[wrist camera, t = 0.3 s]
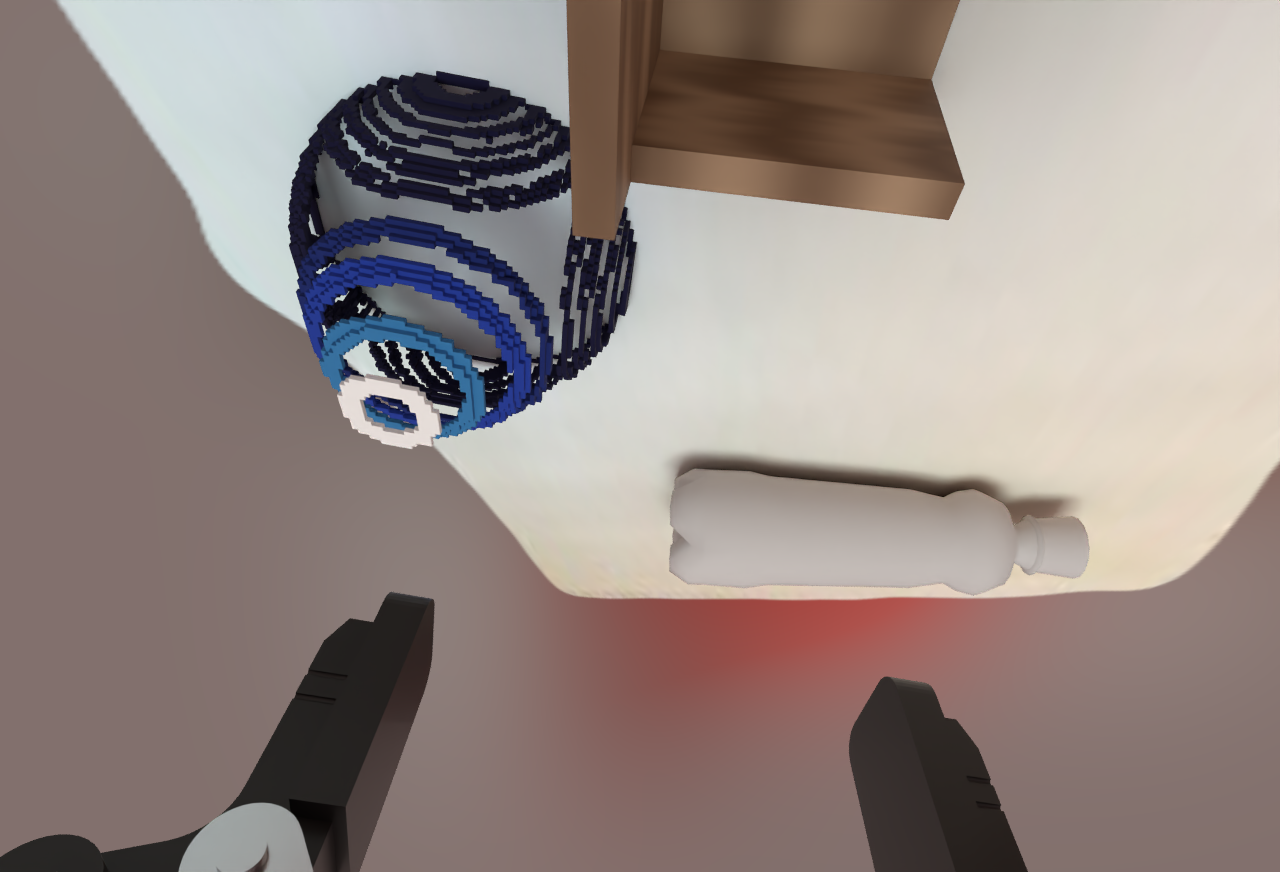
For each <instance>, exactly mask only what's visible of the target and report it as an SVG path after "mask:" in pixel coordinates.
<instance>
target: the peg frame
mask: <svg viewBox="0 0 1280 872" xmlns="http://www.w3.org/2000/svg"><path fill="white" fill-rule="evenodd" d="M566 1H567V40H568V78H569V116H570V154H571V192H572V230H573V236H581V237H590V238H598V239H606V240H615V237H616V233H617V229H618V226H619V222H620V219H621V215H622V211H623V208H624V204H625V200H626V197H627V193H628V190H629V186H630V182H635V183H644V184H652V185H660V186H669V187H677V188H685V189H694V190H702V191H710V192H719V193H727V194H736V195H744V196H752V197H761V198H769V199H777V200H786V201H794V202H802V203H811V204H819V205H828V206H836V207H844V208H853V209H861V210H869V211H878V212H886V213H894V214H903V215H911V216H920V217H928V218H936V219H945V220H949V218H950V216H951V214H952V212H953V209H954V207H955V205H956V203H957V200H958V198H959V196H960V194H961V191H962V189H963V187H964V185H965V183H964V180H963V177H962V173H961V170H960V167H959V164H958V161H957V158H956V155H955V152H954V149H953V146H952V142H951V139H950V136H949V133H948V130H947V127H946V124H945V121H944V118H943V114H942V111H941V108H940V105H939V102H938V99H937V96H936V93H935V90H934V87H933V83H932V80H931V79H932V76H933V74H934V71H935V68H936V65H937V62H938V60H939V57H940V54H941V51H942V49H943V46H944V43H945V40H946V37H947V35H948V32H949V29H950V26H951V24H952V21H953V18H954V15H955V12H956V10H957V7H958V4H959V1H960V0H566Z"/></svg>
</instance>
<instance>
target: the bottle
mask: <svg viewBox="0 0 1280 872" xmlns="http://www.w3.org/2000/svg"><path fill="white" fill-rule="evenodd" d="M670 525H671V526H672V527H673V528H674V529H673V544H672V545H671V548H670V558H669V563H670V569H669V571H670V572H671V573H673V574H674V575H676V576H677V577H678V578H680V579H681V580H683V581H684V582H685V583H687V584H697V585H713V586H726V587H738V588H749V587H756V586H763V585H792V586H844V587H896V588H911V587H918V586H926V585H933V584H941V583H943V584H945V585H947V586H948V587H950V588H952V589H953V590H955V591H958V592H962V593H966V594H970V595H977V594H981V593H983V592H986V591H988V590H991V589H993V588H996V587H998V586H1001V585H1003V584H1005V582H1006V581H1007V580H1008V578H1009V577H1010V575H1011V571H1012V568H1013V564H1014V563H1015V564H1017V565H1018V566H1020V567H1021V568H1022V570H1023V572H1024V573H1026V574H1028V575H1032V574H1035V573H1043V574H1049V575H1055V576H1061V577H1068V578H1077V577H1080V576H1081V575H1082V574H1083V572H1084V571H1085V569H1086V566H1087V563H1088V559H1089V541H1088V535H1087V532H1086V530H1085V527H1084V525H1083V524H1082V523H1081V521H1080V520H1079V519H1078V518H1075V517H1052V518H1034V517H1033V516H1031V515H1027V516H1024V517H1023V518H1022V520H1021V521H1020V523H1017V524H1015V525H1013V522H1012V518H1011V515H1010V512H1009V511H1008V509H1007V508H1006V506H1005V505H1004V503H1002V502H1000V501H998V500H996V499H994V498H992V497H990V496H988V495H986V494H984V493H982V492H979V491H977V490H975V489H970V490H963V491H956V492H953V493H951V494H949V495H947V496H945V497H939V496H935V495H931V494H927V493H923V492H919V491H915V490H911V489H902V488H891V487H880V486H870V485H859V484H848V483H837V482H827V481H816V480H805V479H794V478H784V477H773V476H767V475H763V474H760V473H756V472H752V471H735V470H707V469H692V470H690V471H688V472H687V473H685V474H683V475H681V476H680V477H678V478H676V479H675V486H674V491H673V492H672V498H671V504H670Z"/></svg>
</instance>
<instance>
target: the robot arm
mask: <svg viewBox="0 0 1280 872" xmlns="http://www.w3.org/2000/svg"><path fill="white" fill-rule="evenodd" d="M433 626H434V600H433V599H430V598H424V597H418V596H412V595H406V594H400V593H394V592H390V593H389V594H388V595H387V596H386V598H385V600H384V602H383V604H382V606H381V608H380V610H379V612H378V614H377V616H376V618H375V620H374V622H369V621H363V620H356V619H349V620H348V621H346V622H345V623H344V624H343V625H342V626H341V627H340V628H338V629H337V630H336V631H335V632H334V633H333V634H331V636H329V637H328V638H327V639H326V640H324V642H323V644H322V646H321V647H320V649H319V651H318V653H317V655H316V657H315V658H314V660H313V662H312V664H311V666H310V668H309V671H308V674H307V675H305V677H304V679H303V680H302V682H301V684H300V686H299V688H298V690H297V692H296V695H295V698H294V699H292V701H291V702H290V705H289V706H288V708H287V710H286V712H285V714H284V715H283V717H282V719H281V721H280V723H279V724H278V726H277V728H276V730H275V732H274V734H273V736H272V737H271V739H270V741H269V743H268V745H267V747H266V748H265V750H264V752H263V754H262V756H261V758H260V759H259V761H258V763H257V765H256V767H255V769H254V770H253V772H252V774H251V776H250V778H249V780H248V781H247V783H246V785H245V787H244V788H243V790H242V792H241V793H240V795H239V796H238V797H237V798H236V800H235V801H234V802H233V803H232V804H231V805H230V807H228V808H227V809H226V810H225V811H224V812H223V813H222V814H221V815H219V816H218V817H217V818H216V819H214V820H213V821H211V822H210V823H208V824H207V825H205V826H204V827H202V828H200V829H198V830H196V831H194V832H192V833H190V834H187V835H185V836H182V837H179V838H176V839H172V840H169V841H163V842H158V843H153V844H147V845H142V846H136V847H131V848H125V849H120V850H115V851H109V852H104V853H100V851H99V850H98V848H97V847H96V846H95V844H93V843H91V842H90V841H89V840H87V839H85V838H82V837H80V836H75V835H53V836H46V837H43V838H39V839H36V840H33V841H30V842H28V843H25V844H23V845H21V846H19V847H17V848H15V849H13V850H11V851H9V852H8V853H6V854H5V855H3V856H2V857H0V872H359V871H360V868H361V866H362V863H363V860H364V857H365V854H366V852H367V849H368V846H369V843H370V841H371V838H372V835H373V832H374V830H375V827H376V824H377V821H378V818H379V816H380V813H381V810H382V807H383V805H384V802H385V799H386V796H387V794H388V791H389V788H390V785H391V782H392V780H393V777H394V774H395V771H396V769H397V766H398V763H399V760H400V758H401V755H402V752H403V749H404V746H405V744H406V741H407V738H408V735H409V732H410V730H411V727H412V724H413V721H414V719H415V716H416V713H417V710H418V707H419V705H420V702H421V699H422V697H423V694H424V691H425V687H426V684H427V680H428V676H429V672H430V667H431V661H432V649H433V647H432V646H433ZM849 756H850V763H851V767H852V772H853V776H854V781H855V785H856V789H857V794H858V798H859V802H860V807H861V811H862V816H863V820H864V824H865V829H866V833H867V838H868V842H869V846H870V851H871V855H872V859H873V863H874V868H875V872H1028V871H1027V868H1026V866H1025V863H1024V861H1023V858H1022V856H1021V854H1020V851H1019V848H1018V846H1017V844H1016V841H1015V839H1014V836H1013V834H1012V831H1011V829H1010V826H1009V824H1008V821H1007V819H1006V816H1005V814H1004V812H1003V811H1001V809H1000V806H1001V804H1000V801H999V799H998V796H997V794H996V791H995V789H994V787H993V786H992V785H991V784H990V780H991V779H990V776H989V774H988V771H987V769H986V767H985V764H984V761H983V759H982V756H981V754H980V752H979V749H978V747H977V746H976V745H975V744H974V742H973V741H972V740H971V738H970V737H969V736H968V734H967V733H966V732H965V730H964V729H963V728H962V727H961V725H960V724H959V723H958V721H957V720H955V719H949V718H944V715H943V713H942V710H941V707H940V704H939V702H938V699H937V696H936V694H935V692H934V690H933V688H932V687H931V686H930V685H929V684H927V683H922V682H917V681H910V680H905V679H898V678H892V677H884V678H882V679H881V680H880V682H879V683H878V685H877V686H876V688H875V690H874V691H873V693H872V695H871V696H870V698H869V700H868V702H867V703H866V705H865V707H864V709H863V710H862V712H861V714H860V715H859V717H858V719H857V720H856V722H855V724H854V726H853V728H852V731H851V735H850V743H849Z"/></svg>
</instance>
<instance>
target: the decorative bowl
mask: <svg viewBox="0 0 1280 872" xmlns="http://www.w3.org/2000/svg"><path fill="white" fill-rule="evenodd" d="M439 83H442V84H447V85H452V86H457V87H462V88H468V89H473V90H478V91H480V92H479V93H476V92H473V94H466V95H465V96H464V95H458V94H453V93H448V92H446V89H442V86H439ZM393 85H397V86H398V87H397V94H400V95H401V97H402V103H407V104H411V107H413V108H414V110H415V111H418V114H420V115H425V116H431V117H436V118H441V119H446V120H452V121H457V122H462V123H468V121H472V122H477V123H480V121H487V120H488V119H491V120H496V121H499V119H500V118H501V116H504V117H507V116H508V114H509V112H511V113H515V112H516V110H517V108H518V106H521V107H524V106H525V110H528V111H527V113H526V114H525V116H524V118H523V117H518V119H517V120H516V121H510V123H507V122H504V123H503V125H502V124H497V125H496V126H493V125H490V126H489V128H488V127H483V126H477V128H473V127H468V126H465V127H464V129H463V128H458V127H453V126H447V125H442V124H437V123H432V122H426V121H421V120H417V119H416V117H415V116H413V113H410V112H404V108H401V106H400V105H397V102H396V101H394V98H393V95H392V92H389V89H392V90H393V89H394V88H393ZM376 94H377V95H378V101H379V105H380V107H383V110H386V113H387V114H389V115H390V117H393V118H398V120H399V122H402V125H404V126H409V127H415V128H420V129H425V130H427V131H428V133H430V134H436V135H441V136H446V137H450V136H451V135H457V136H462V137H467V138H472V139H478V140H479V139H480V137H483V138H486V143H487V144H492V143H493V137H499V135H503V136H505V135H506V134H512V133H513V132H517V133H519V131H520V136H526V134H529V135H532V134H533V132H534V124H535V122H536V128H541V127H542V125H543V118H544V121H545V124H549V125H548V126H547V128H546V130H545V132H542V131H539V133H538V135H537V136H535V135H532V136H531V138H530V140H526V139H524V140H523V142H522V141H517V142H516V143H512V142H511V143H510V144H509V145H507V144H504V145H503V146H496V148H492V147H487V146H484V148H483V149H482V148H476V147H472V148H471V149H466V148H461V147H455V146H454V141H451V140H446V139H441V138H436V137H430V136H425V135H420V136H419V137H418V138H419V140H418V139H413V138H408V137H407V135H406V134H403V133H398V132H392V128H389V125H387V124H386V123H385V121H382V118H381V117H376V116H377V114H378V110H377V108H374V103H373V98H374V97H375V95H376ZM359 103H361V104H362V105H361V106H362V111H363V117H366V119H367V120H369V121H370V124H373V127H375V128H376V130H377V131H379V132H380V134H381V135H386V136H388V137H389V139H391V140H392V143H396V144H401V145H407V146H412V147H417V148H420V147H421V146H422V144H421V143H423V144H429V145H434V146H439V147H445V148H450V149H452V151H453V154H454V155H459V156H465V157H470V158H475V157H476V156H481V157H486V158H487V157H488V156H489V155H491V156H495V154H496V153H497V154H502V155H507V154H508V153H512V154H513V153H514V151H515V150H516V148H517V149H522V150H527V149H528V148H532V149H533V148H534V146H535V144H536V142H537V141H539V142H542V141H543V139H544V137H547V138H550V136H551V134H552V132H553V131H558V133H557V135H556V138H555V140H554V147H553V144H550V143H547V145H541V146H540V148H539V150H538V152H537V157H532V158H531V154H528V153H525V155H524V156H523V155H518V157H511V159H507V158H502V157H499V159H498V160H496V159H492V161H486V160H480V161H479V162H475V161H469V160H464V159H462V160H461V162H458V161H453V160H448V159H442V158H437V157H432V156H427V155H421V154H416V153H411V152H407V149H406V148H401V147H396V146H389V148H388V150H386V148H387V147H388V146H387V142H386V141H381V142H380V143H379V141H378V137H375V134H374V133H372V132H371V130H370V129H368V126H365V123H364V122H362V120H361V114H360V109H359ZM343 116H344V117H343ZM342 117H343V119H344V123H347V128H346V129H345V130H346V134H348V135H351V136H353V137H354V139H355V140H357V141H358V144H361V147H363V148H366V150H365V156H368V157H371V156H372V155H373V156H376V158H377V160H382V161H387V163H386V169H387V170H391V171H395V174H396V175H401V176H406V177H411V178H416V179H422V180H427V181H432V182H438V183H443V184H448V185H453V186H459V187H463V185H464V184H465V185H471V186H475V185H476V178H477V179H482V180H488V178H489V176H490V175H494V176H500V177H501V176H502V174H506V175H511V176H514V174H515V173H516V174H521V171H522V172H527V171H528V170H533V171H534V169H535V168H538V169H540V168H541V166H542V164H548V163H549V161H550V159H551V160H556V157H557V155H560V156H563V154H564V152H565V151H568V152H570V127H565V126H561V121H560V120H554V119H551V114H550V113H546V108H545V107H540V106H535V105H529V104H526V99H525V98H520V97H515V96H510V90H506V89H501V88H495V87H490V86H489V81H487V80H482V79H476V78H471V77H466V76H461V75H455V74H450V73H445V72H440V71H436V76H433V75H427V74H422V73H417V72H416V74H415V75H414V76H413V77H410V76H405V75H401V76H400V77H399V80H398V79H393V78H388V77H383V76H382V77H381V78H380V79H379V80H378V81H377V86H376V85H371V84H368V85H367V86H366V87H365V88H360V87H359V88H358V89H357V90H356V91H355V92H354V93H353V94H352V95H351V96H350V97H349V98H348V99H347V100H345V99H341V100H340V101H339V102H338V103H337V104H336V106H335V107H334V108H333V109H332V110H331V111H330V112H329V113H328V114H327V115H326V116H325V117H324V118H323V119H322V120H321V121H320V122H319V123H318V124H317V127H318V130H317V131H316V132H315V133H314V134H313V135H312V137H311V138H310V139H309V146H308V147H307V148H306V149H305V150H304V151H303V152H302V153H301V155H300V156H299V157H300V160H301V161H300V162H299V163H298V164H299V168H298V170H297V171H296V172H295V174H296V177H295V178H294V179H293V180H292V181H293V182H292V185H293V186H292V187H291V188H292V189H291V192H292V193H291V194H290V195H291V198H292V199H291V200H290V203H289V206H290V207H289V211H290V215H289V217H290V218H289V221H290V224H289V225H288V228H289V231H290V236H291V237H290V240H291V243H290V244H289V247H290V250H291V254H292V257H293V260H294V263H295V266H296V270H297V273H298V276H299V279H298V280H297V282H298V285H299V288H300V289H298V290H297V291H296V293H297V297H298V300H299V303H300V306H301V309H302V312H303V318H304V322H305V325H306V328H307V331H308V334H309V337H310V340H311V343H312V346H313V349H314V352H315V353H316V354H317V357H318V358H319V359H320V360H319V362H320V366H321V369H322V372H323V374H324V376H326V377H329V378H330V382H331V385H332V388H334V389H338V392H339V393H338V395H337V396H338V399H339V402H340V406H341V409H342V412H343V415H344V417H346V418H350V422H351V425H352V428H353V429H358V432H359V433H362V434H368V435H369V436H370V438H372V439H377V440H381V443H382V444H388V445H393V446H398V447H404V448H409V449H413V447H414V446H415V447H417V445H418V444H421V445H427V446H432V445H433V443H434V442H433V438H436V439H439V438H440V437H447V438H448V437H449V435H452V436H458V434H462V433H463V431H464V432H467V430H468V429H469V430H476V428H484V429H485V427H490V428H492V426H493V424H494V425H495V423H496V422H499V423H502V422H503V421H506V418H508V416H512V414H516V413H519V412H521V411H523V410H525V409H526V406H528V404H530V405H535V402H541V401H542V392H546V390H547V389H548V390H552V387H553V385H557V382H558V381H559V380H562V379H563V377H564V379H565V380H572V378H577V374H578V369H580V370H584V369H585V367H587V365H591V362H592V359H590V357H596V356H597V354H598V352H602V350H603V347H604V346H605V347H606V346H607V345H608V342H609V338H610V334H611V333H614V331H615V327H616V323H617V318H618V314H619V315H622V316H625V314H626V311H627V307H628V300H629V294H630V287H631V280H632V273H633V266H634V259H635V252H636V245H637V242H633V234H634V230H633V229H630V222H631V221H628V220H626V217H627V209H628V208H626V207H624V208H623V211H622V218H621V219H620V222H619V225H620V226H623V225H624V221H626V222H625V226H624V230H623V229H621V228H618V229H617V233H616V235H622V230H623V236H622V241H621V245H620V251H619V245H616V244H615V241H616V237H615V240H610V242H609V247H608V252H607V258H606V264H605V270H604V275H603V276H598V271H599V262H600V256H601V252H602V246H603V240H604V239H598V238H590V237H588V238H587V237H580V240H575V236H573V230H572V227H571V231H570V237H569V240H568V246H567V256H566V259H565V266H564V275H566V276H569V277H568V284H567V287H563V286H562V289H561V295H560V307H559V309H564V322H563V329H562V348H561V353H559V356H558V355H553V339H554V336H549V316H545V315H544V303H541V302H539V298H537V297H534V293H533V292H529V283H525V282H523V278H522V277H518V272H514V271H513V268H512V267H511V266H507V261H503V260H498V259H496V254H490V249H488V248H483V247H478V246H473V241H471V240H466V239H462V235H461V234H459V233H454V232H449V231H444V226H442V225H437V224H432V223H427V222H421V221H416V220H411V219H405V218H400V217H395V216H389V215H387V216H386V218H385V219H380V218H374V217H371V218H370V219H369V221H365V220H360V219H355V220H354V221H353V223H351V222H344V224H343V226H342V225H341V226H340V227H339V228H338V229H333V228H331V229H330V230H329V232H326V233H325V232H324V228H323V224H322V221H321V217H320V213H319V209H318V205H317V201H316V198H318V199H319V198H320V197H319V193H318V189H317V185H316V181H315V177H316V175H315V171H316V170H317V168H316V164H317V163H319V159H318V155H321V154H322V153H321V152H322V151H323V148H324V151H327V154H329V155H330V158H334V159H336V158H337V159H336V160H335V162H336V165H338V166H339V169H342V170H345V169H346V171H345V175H346V177H350V178H352V179H351V181H352V184H353V185H358V186H363V187H366V190H367V191H372V192H377V193H380V194H381V197H386V198H391V199H397V200H398V198H399V197H400V196H399V195H401V196H407V197H412V198H417V199H422V200H428V201H433V202H438V203H444V204H449V205H452V207H453V210H455V211H460V212H465V213H470V211H471V210H473V211H478V212H482V211H483V204H484V205H489V210H490V211H495V212H500V211H501V209H502V210H507V209H508V207H509V208H514V209H519V208H520V206H521V207H526V206H527V205H533V203H538V204H539V202H540V201H544V202H546V199H550V200H552V198H553V197H556V198H558V197H559V193H560V188H561V193H566V191H567V189H568V188H571V160H570V159H569V160H568V162H567V165H566V167H565V174H564V170H563V169H559V170H558V171H552V174H551V176H548V175H545V177H544V178H543V177H538V180H537V182H532V181H531V182H530V189H527V188H524V190H523V186H521V185H515V184H512V185H511V187H509V186H505V187H504V189H503V188H498V187H493V186H487V187H486V188H481V187H480V189H479V190H475V189H469V188H468V189H467V190H466V196H463V195H457V194H452V193H450V190H449V188H447V187H441V186H436V185H431V184H426V183H420V182H415V181H410V180H404V179H398V181H397V183H394V182H389V181H390V179H391V176H390V173H385V172H382V171H381V168H376V167H373V165H372V164H371V163H366V162H360V161H361V157H360V155H357V151H353V150H349V148H348V142H347V140H343V139H342V138H343V137H344V132H343V131H342V130H341V129H340V123H342V120H341V118H342ZM324 139H325V141H326V143H325V144H324V145H323V143H324ZM378 143H379V145H377V144H378ZM322 145H323V146H322ZM317 154H318V155H317ZM395 158H398V159H404V160H403V161H402V164H398V163H393V162H394V161H395ZM359 162H360V164H359V166H357V165H358V163H359ZM354 165H356V167H355V170H353V168H354ZM314 170H315V171H314ZM459 170H462V171H467V172H470V176H471V177H467V176H461V175H460V174H459ZM375 179H378V180H383V182H382V183H381V185H378V184H373V183H374V182H375ZM562 179H563V183H562ZM509 195H514V196H515V201H514V200H510V199H509ZM472 197H473V198H478V199H483V204H479V203H474V202H472ZM310 214H311V217H312V221H313V225H314V228H315V232H316V234H318V235H320V236H319V237H317V236H316V235H314V234H311V231H310V227H309V224H308V222H309V221H310V218H309V215H310ZM380 235H381V236H387V237H389V241H394V242H399V243H404V244H410V245H415V246H420V247H425V248H431V249H435V247H436V246H440V247H445V248H447V250H446V256H449V257H454V258H458V263H461V264H467V265H469V270H474V271H480V272H485V273H490V274H492V283H496V284H501V285H505V286H508V288H509V295H514V296H516V297H519V299H520V309H521V310H525V319H530V324H535V336H537V337H540V357H537V360H536V359H531V354H527V353H526V342H524V341H521V333H519V332H516V324H514V323H510V314H504V313H499V304H496V303H493V298H487V297H482V292H479V291H476V286H471V285H465V281H464V280H462V279H457V278H453V273H449V272H444V271H439V270H436V268H435V265H431V264H426V263H421V262H415V261H410V260H405V259H400V258H394V257H389V256H384V255H377V257H376V259H375V258H370V257H364V256H362V257H361V258H360V260H356V259H351V258H345V260H344V262H343V261H341V263H340V261H338V260H335V256H336V253H337V254H339V252H340V251H341V250H343V249H344V248H345V246H347V247H352V248H353V247H354V245H355V244H360V245H366V246H369V245H370V243H371V242H374V243H379V242H380V241H381V238H380ZM586 238H587V244H588V245H591V249H590V255H589V259H584V260H583V256H584V251H585V244H586ZM627 242H628V244H627V251H626V257H629V259H628V265H627V271H626V276H625V282H624V289H623V291H621V297H620V304H618V303H616V300H617V293H618V286H619V280H620V275H621V269H622V262H623V258H624V253H625V247H626V243H627ZM618 251H619V256H618ZM573 254H574V255H578V256H577V261H576V262H571V259H572V255H573ZM617 257H618V261H617ZM582 260H583V267H582ZM334 262H335V263H336V265H335V264H331V265H330V267H329V268H328V266H329V264H330V263H334ZM616 262H617V267H616ZM324 267H327V268H326V270H325V271H322V273H321V274H317V273H316V271H318V270H319V269H323V268H324ZM576 267H580V268H581V267H582V270H581V276H580V285H579V294H578V298H577V310H581V323H580V336H579V348H575V349H574V350H572V348H573V334H574V319H570V307H571V301H572V291H573V283H574V278H575V272H576ZM615 267H616V273H615V279H614V284H613V290H612V297H611V306H610V314H609V322H608V323H609V324H606V323H605V326H602V320H603V313H599V309H602V310H604V306H605V297H606V292H607V284H608V279H609V272H615ZM597 276H598V281H597V286H596V280H597ZM394 283H398V284H404V285H409V286H414V289H415V291H417V292H423V293H428V294H432V299H436V300H442V301H447V302H452V303H455V307H456V308H461V313H465V314H467V318H470V319H475V320H478V323H479V329H484V332H485V334H489V335H494V336H495V338H496V348H500V349H501V355H502V358H496V360H494V359H488V358H483V357H478V356H472V355H468V354H466V350H462V349H457V348H454V340H452V339H447V338H442V333H437V332H432V331H426V330H425V328H424V326H422V325H417V324H411V323H407V319H406V318H402V317H397V316H391V315H386V313H385V312H383V311H381V308H377V306H376V301H372V299H371V298H370V297H367V294H365V293H362V288H361V287H360V286H357V285H362V286H367V287H373V288H377V286H378V284H380V285H385V286H391V287H392V286H393V285H394ZM595 287H596V289H597V290H601V294H597V293H596V294H595ZM584 289H588V290H589V298H594V295H595V301H594V306H593V316H592V326H591V337H590V339H589V338H587V344H584V339H585V328H586V316H587V310H588V300H589V298H588V297H584ZM348 291H349V293H348ZM347 293H348V294H347ZM346 294H347V296H346V297H345V299H344V300H343V301H340V300H338V301H337V302H335V299H336V298H337V297H340V296H341V295H343V296H344V295H346ZM359 302H360V305H362V306H365V304H366V302H368V305H367V306H366V308H365V309H362V310H361V312H360V313H358V311H359V309H358V307H357V306H358V304H359ZM372 308H376V310H375V312H374V313H373V315H372V316H370V315H368V314H369V313H370V311H371V309H372ZM380 313H381V317H380V318H379V317H378V316H379V314H380ZM345 319H346V320H345ZM337 321H339V322H337ZM322 325H325V328H326V329H327V330H326V336H324V331H323V328H322ZM601 333H602V335H601ZM364 340H368V341H370V342H369V344H368V345H369V347H370V350H369V352H370V354H372V357H374V359H375V361H377V362H376V364H375V366H376V367H378V371H383V372H384V373H385V375H387V378H386V377H381V376H376V375H370V374H366V376H365V377H364V375H360V374H359V372H358V371H355V370H352V368H351V367H349V366H348V363H347V360H346V359H343V355H345V353H346V352H349V351H350V349H354V347H355V346H358V345H359V343H363V341H364ZM385 340H388V342H387V341H386V342H385ZM396 341H397V342H400V346H402V347H406V350H407V351H410V352H409V354H406V359H409V365H411V368H412V369H414V372H416V375H418V376H419V379H421V382H423V383H426V387H429V388H426V387H425V385H423V384H420V383H418V380H417V379H415V376H412V375H409V373H410V369H407V368H404V366H403V365H402V362H403V360H402V358H401V356H402V355H401V352H399V349H397V347H398V343H396ZM384 342H385V347H389V348H388V353H390V354H389V356H388V357H389V362H390V363H391V364H392V366H395V367H396V368H395V369H394V370H395V371H394V370H392V367H391V366H390V364H389V363H387V359H385V358H386V353H384V351H383V350H382V349H381V346H377V344H378V343H384ZM590 346H591V348H590ZM395 348H396V349H395ZM588 348H590V351H589V349H588ZM422 350H423V351H426V352H425V356H427V358H428V360H430V361H429V365H430V366H431V369H434V372H436V375H437V376H439V379H443V380H445V383H448V384H444V383H440V380H439V379H437V376H434V375H431V372H428V368H426V365H424V364H423V362H421V360H422V358H423V356H424V355H423V353H421V352H422ZM571 357H572V362H570V361H567V358H569V359H570V358H571ZM553 358H554V359H558V362H557V364H553ZM472 359H474V360H479V361H485V362H490V363H495V364H499V366H498V367H496V366H494V368H493V369H492V368H489V371H488V370H485V371H484V372H478V368H475V367H472ZM439 361H440V362H439ZM531 362H532V363H538V366H535V367H534V370H533V373H532V374H531ZM552 364H553V365H552ZM441 366H446V367H447V371H450V372H452V375H453V377H454V379H452V376H451V375H449V372H447V371H446V369H444V368H440V367H441ZM513 370H514V373H513ZM395 372H396V373H397V374H395ZM344 373H345V375H344ZM508 373H513V375H508ZM399 376H401V377H404V381H402V378H399ZM503 376H506V377H507V376H508V378H507V380H503ZM539 376H540V378H539ZM552 378H554V379H553V381H552ZM538 379H539V380H538ZM535 380H536V383H533V382H534V381H535ZM489 382H493V383H489ZM548 383H549V384H548ZM484 384H485V385H484ZM506 386H507V389H503V388H505V387H506ZM458 388H459V389H458ZM492 389H496V390H492ZM485 390H486V391H485ZM487 391H492V392H487ZM437 392H441V393H437ZM442 393H447V394H450V395H447V394H442ZM371 394H373V395H371ZM375 397H380V398H381V399H382V400H384V401H386V402H388V403H389V405H392V406H397V407H398V409H396V408H391V407H390V406H388V405H386V404H385V403H381V401H380V400H379V399H375ZM427 399H428V400H427ZM433 403H435V404H440V405H446V406H451V407H456V408H459V410H458V415H457V416H453V415H447V414H442V413H439V410H438V409H433ZM371 406H373V407H374V408H372V407H371ZM486 407H489V408H493V410H492V409H491V410H490V412H486ZM377 410H379V411H382V412H383V413H378V412H377ZM400 410H403V411H400ZM388 415H390V418H389V417H388ZM414 415H415V416H414ZM441 420H442V421H441ZM403 421H406V422H409V423H411V424H409V423H404V422H403ZM446 421H447V422H446Z"/></svg>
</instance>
